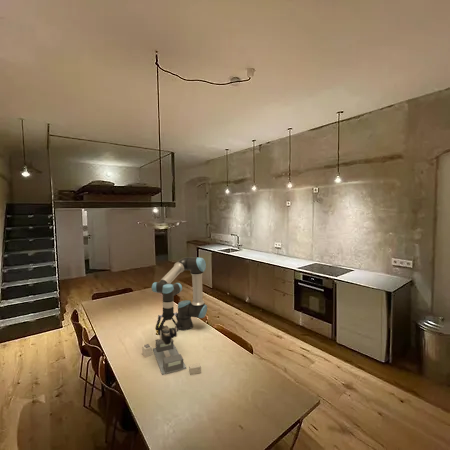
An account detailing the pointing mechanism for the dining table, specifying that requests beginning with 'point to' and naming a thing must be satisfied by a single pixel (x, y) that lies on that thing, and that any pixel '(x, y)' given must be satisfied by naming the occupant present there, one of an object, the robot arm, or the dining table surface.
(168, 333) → the camera
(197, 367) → the terminal block
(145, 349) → the block
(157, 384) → the dining table surface
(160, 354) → the rail board
